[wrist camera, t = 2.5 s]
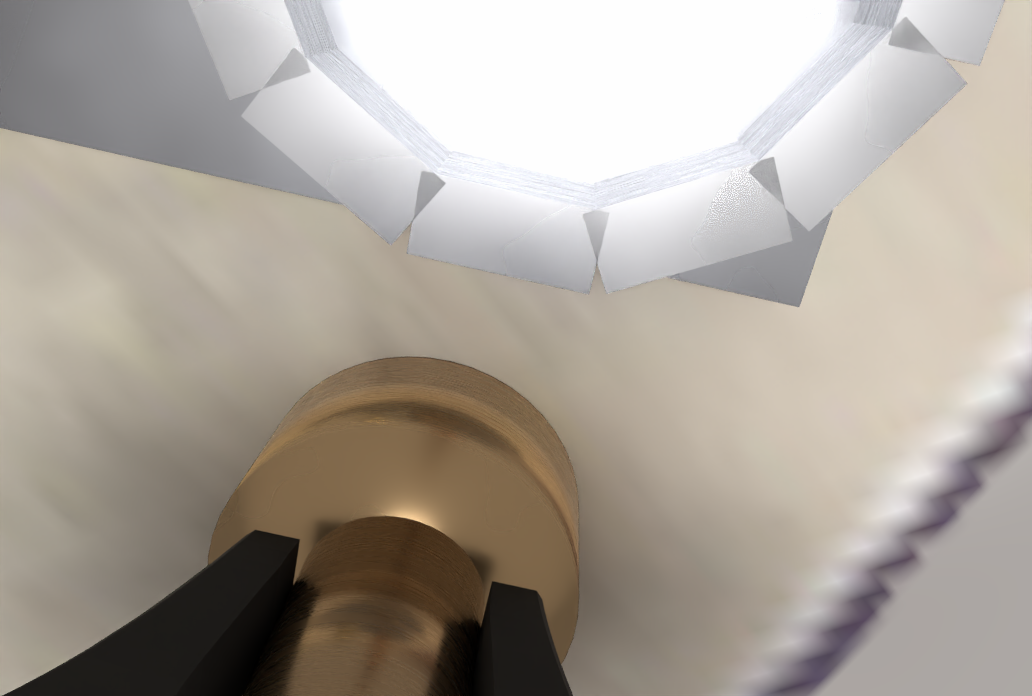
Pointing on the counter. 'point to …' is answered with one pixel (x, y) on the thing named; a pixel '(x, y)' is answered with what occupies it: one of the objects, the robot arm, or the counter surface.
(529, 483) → the gear
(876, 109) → the carrier
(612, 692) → the counter surface
